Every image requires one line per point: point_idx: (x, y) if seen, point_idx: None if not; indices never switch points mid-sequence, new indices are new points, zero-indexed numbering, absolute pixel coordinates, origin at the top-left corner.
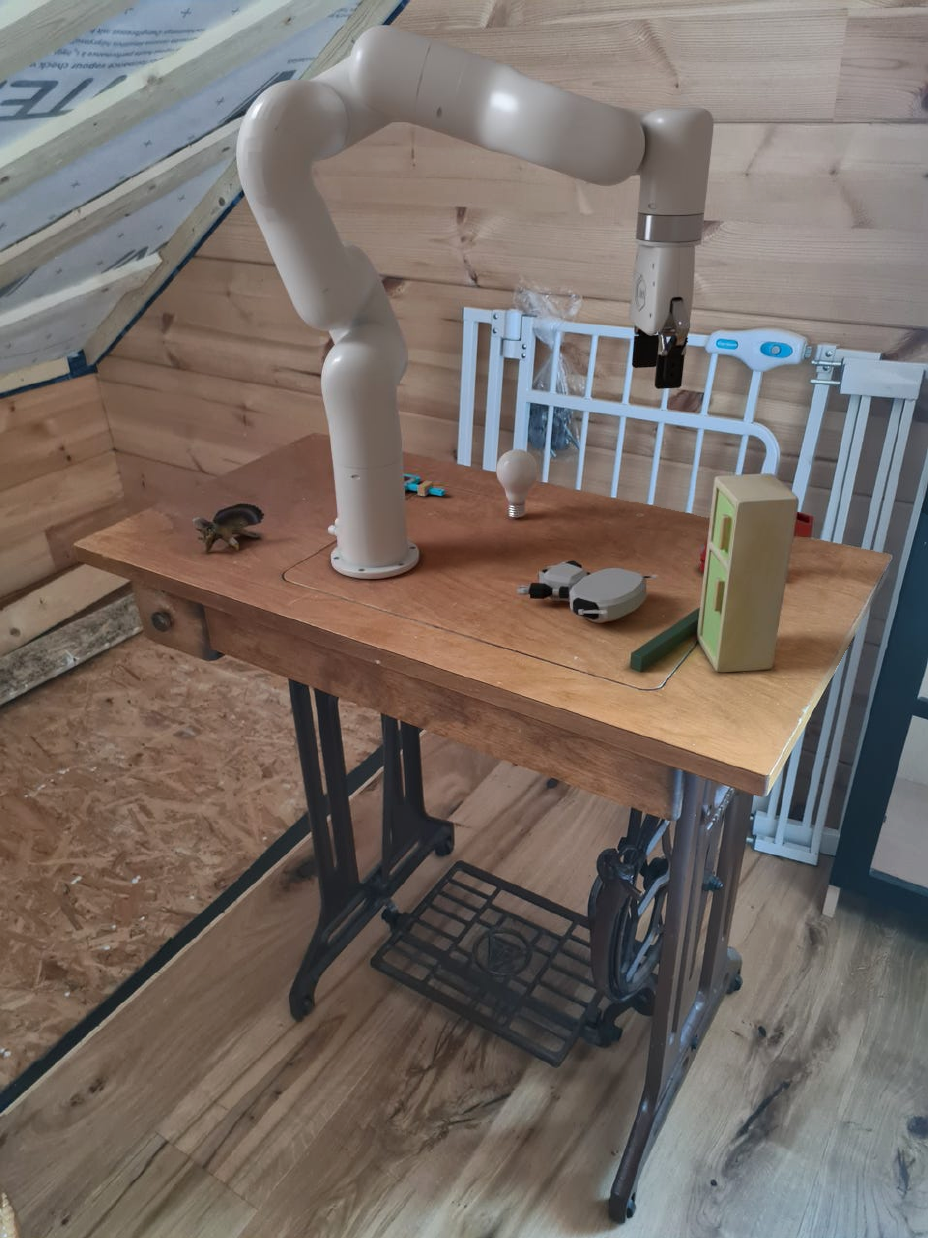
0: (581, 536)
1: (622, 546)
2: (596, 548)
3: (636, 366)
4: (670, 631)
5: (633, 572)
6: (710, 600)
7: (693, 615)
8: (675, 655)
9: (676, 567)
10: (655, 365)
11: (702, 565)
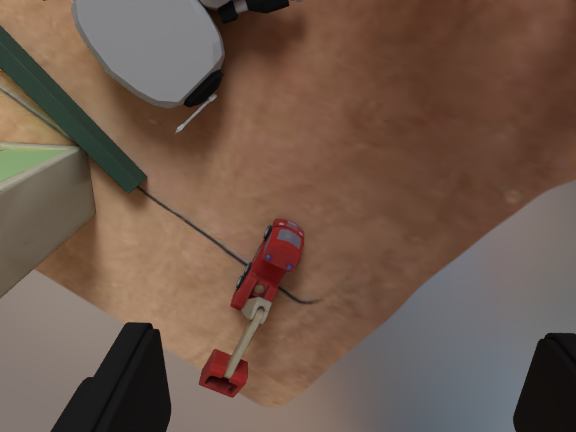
0: (463, 66)
1: (399, 130)
2: (404, 81)
3: (540, 346)
4: (51, 105)
5: (185, 92)
6: (6, 169)
7: (101, 155)
8: None
9: (304, 190)
10: (514, 423)
11: (274, 223)
